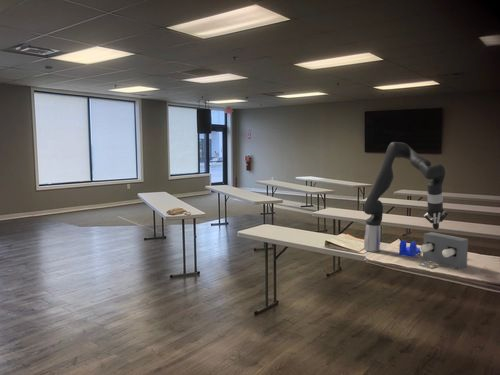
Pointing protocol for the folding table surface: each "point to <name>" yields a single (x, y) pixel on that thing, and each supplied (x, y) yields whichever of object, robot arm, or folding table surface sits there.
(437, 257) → the grey button panel
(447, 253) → the near button
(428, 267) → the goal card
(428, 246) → the far button
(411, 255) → the bracket
